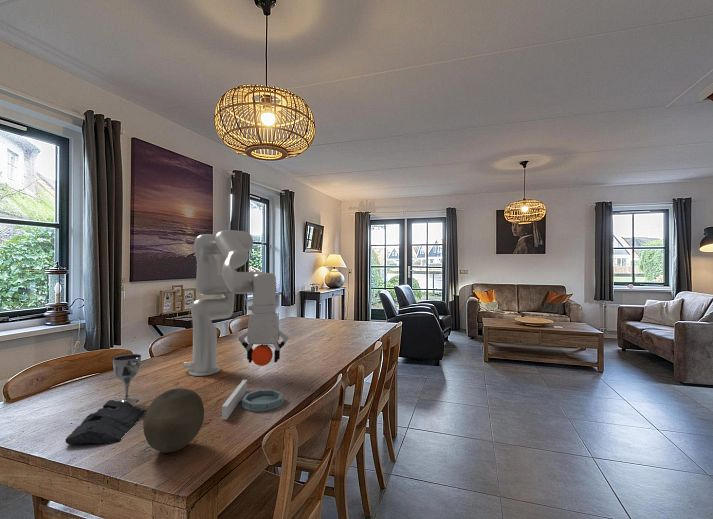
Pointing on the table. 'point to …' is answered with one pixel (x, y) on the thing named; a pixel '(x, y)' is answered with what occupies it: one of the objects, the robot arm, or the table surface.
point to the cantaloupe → (173, 419)
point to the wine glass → (127, 371)
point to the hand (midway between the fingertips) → (263, 361)
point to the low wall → (234, 400)
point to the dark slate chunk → (106, 424)
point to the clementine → (262, 355)
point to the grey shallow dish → (262, 400)
